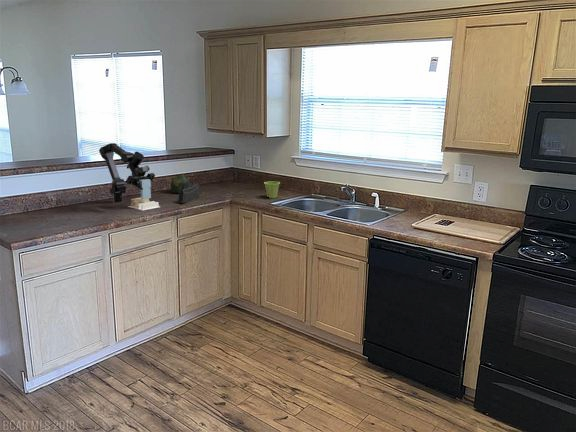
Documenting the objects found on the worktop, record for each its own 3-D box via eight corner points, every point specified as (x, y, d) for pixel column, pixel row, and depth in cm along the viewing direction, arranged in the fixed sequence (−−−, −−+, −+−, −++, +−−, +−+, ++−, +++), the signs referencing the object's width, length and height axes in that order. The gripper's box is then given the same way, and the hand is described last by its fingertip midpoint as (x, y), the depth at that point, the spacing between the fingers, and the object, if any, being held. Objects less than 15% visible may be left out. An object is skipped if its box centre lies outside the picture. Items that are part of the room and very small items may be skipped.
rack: (127, 208, 291) (126, 201, 290) (145, 205, 302) (145, 198, 300) (142, 212, 281) (142, 205, 280) (161, 209, 292) (160, 202, 291)
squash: (163, 185, 342) (174, 172, 336) (175, 183, 356) (186, 170, 350) (175, 199, 340) (186, 186, 334) (186, 196, 354) (197, 183, 348)
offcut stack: (131, 206, 291) (130, 199, 290) (143, 203, 299) (143, 197, 298) (137, 207, 287) (137, 200, 286) (150, 205, 295) (150, 198, 294)
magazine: (180, 192, 302) (198, 173, 327) (176, 192, 302) (194, 173, 327) (184, 214, 310) (202, 194, 335) (180, 214, 311) (197, 194, 336)
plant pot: (275, 195, 345) (276, 180, 343) (282, 198, 335) (282, 183, 332) (261, 196, 340) (261, 181, 338) (267, 199, 330) (267, 184, 327)
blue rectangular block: (141, 199, 287) (140, 180, 284) (149, 197, 291) (148, 179, 288) (143, 199, 285) (142, 180, 283) (151, 198, 290) (150, 179, 287)
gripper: (127, 162, 278) (139, 183, 274) (152, 160, 292) (164, 179, 289) (120, 174, 284) (132, 193, 281) (145, 171, 299) (157, 189, 295)
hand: (146, 188), depth 286 cm, fingers closed on blue rectangular block, 6 cm apart
